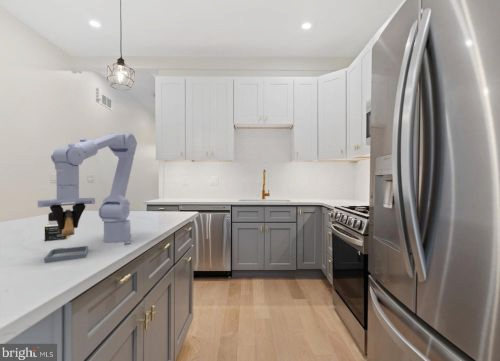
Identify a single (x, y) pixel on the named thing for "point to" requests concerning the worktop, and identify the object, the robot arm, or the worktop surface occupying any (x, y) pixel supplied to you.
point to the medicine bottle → (53, 229)
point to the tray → (67, 257)
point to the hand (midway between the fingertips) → (68, 228)
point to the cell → (68, 223)
